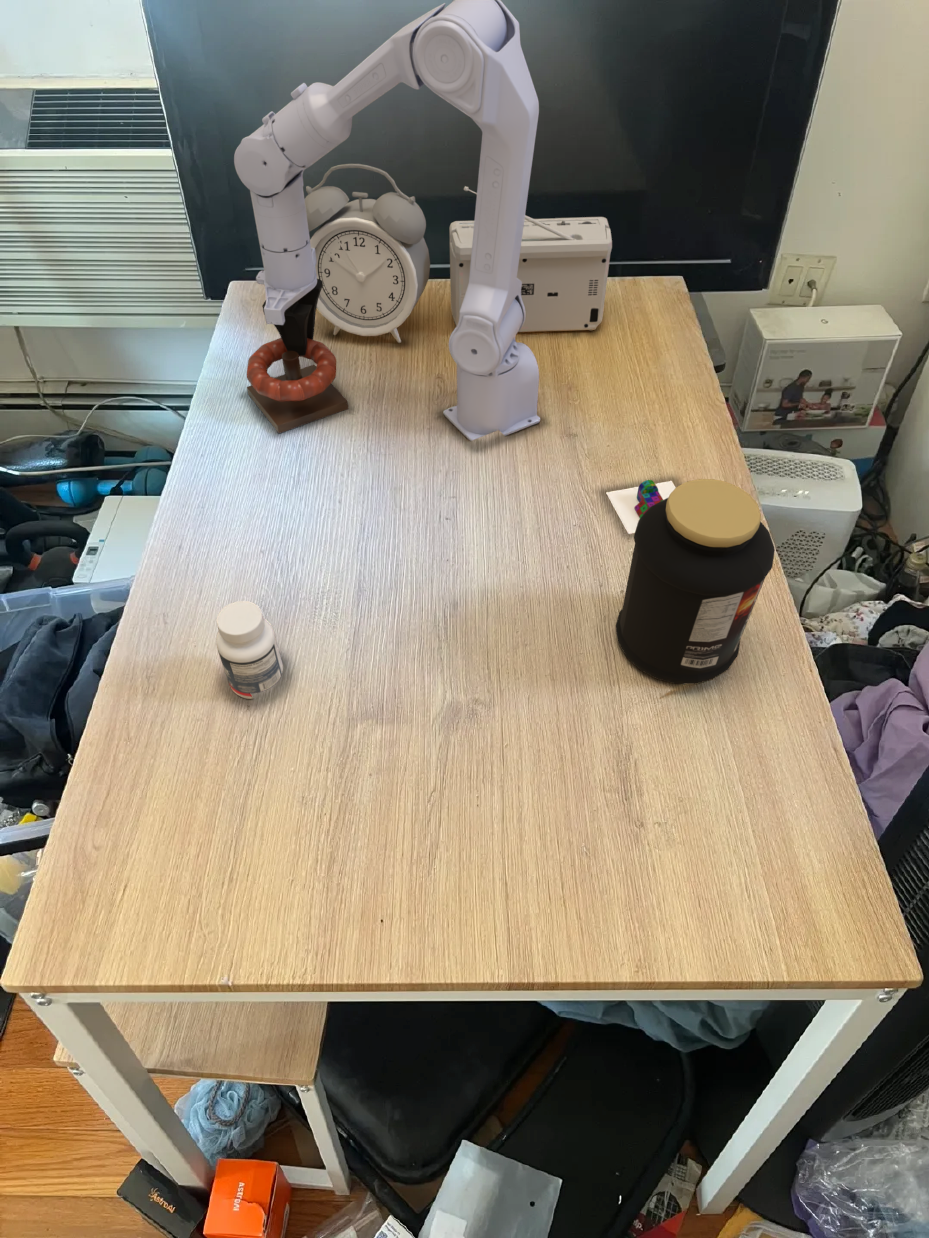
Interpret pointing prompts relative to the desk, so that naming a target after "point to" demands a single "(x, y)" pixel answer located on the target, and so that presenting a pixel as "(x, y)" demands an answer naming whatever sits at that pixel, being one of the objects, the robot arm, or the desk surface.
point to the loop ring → (291, 388)
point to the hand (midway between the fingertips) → (301, 346)
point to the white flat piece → (638, 501)
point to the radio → (547, 271)
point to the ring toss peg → (298, 412)
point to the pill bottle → (248, 649)
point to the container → (693, 581)
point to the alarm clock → (367, 256)
